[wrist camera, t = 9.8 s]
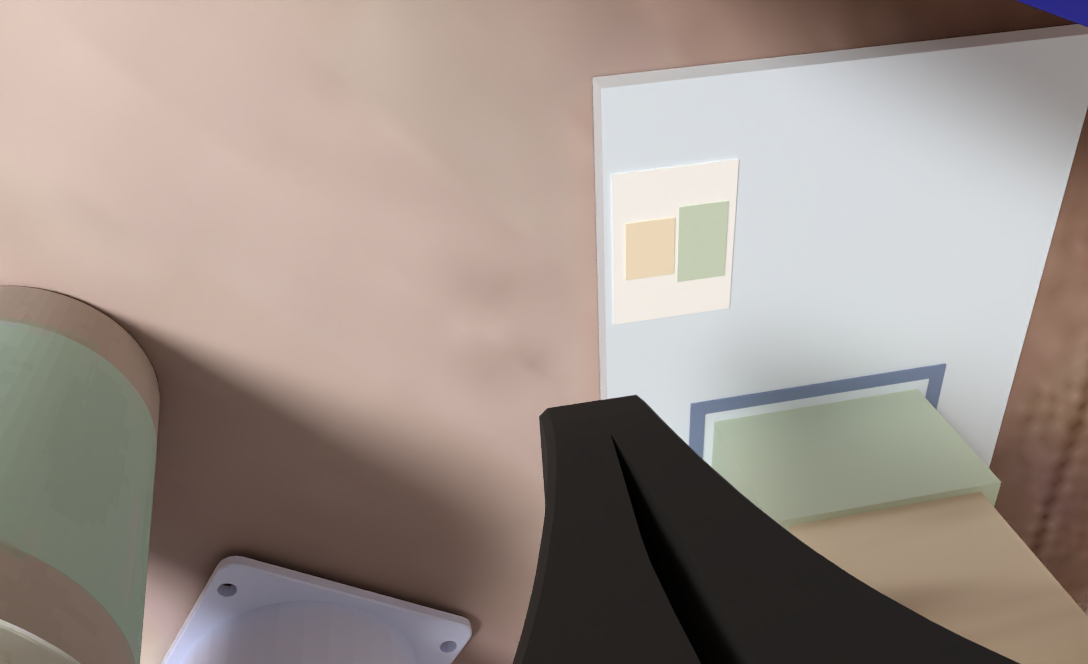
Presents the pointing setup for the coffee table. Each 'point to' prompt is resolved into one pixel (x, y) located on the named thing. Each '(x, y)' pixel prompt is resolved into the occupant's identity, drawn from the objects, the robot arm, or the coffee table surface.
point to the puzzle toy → (1063, 9)
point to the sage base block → (847, 458)
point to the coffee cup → (73, 482)
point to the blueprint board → (832, 225)
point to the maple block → (959, 575)
